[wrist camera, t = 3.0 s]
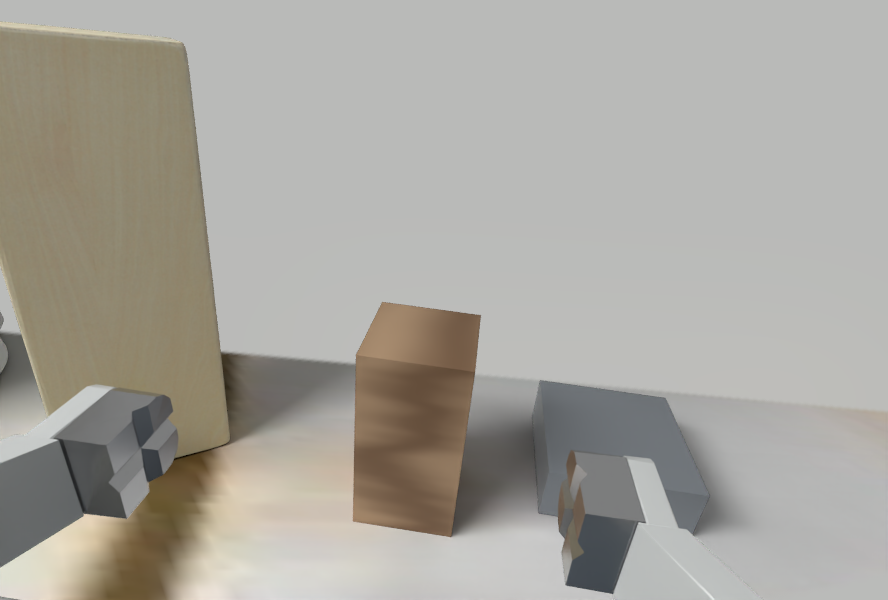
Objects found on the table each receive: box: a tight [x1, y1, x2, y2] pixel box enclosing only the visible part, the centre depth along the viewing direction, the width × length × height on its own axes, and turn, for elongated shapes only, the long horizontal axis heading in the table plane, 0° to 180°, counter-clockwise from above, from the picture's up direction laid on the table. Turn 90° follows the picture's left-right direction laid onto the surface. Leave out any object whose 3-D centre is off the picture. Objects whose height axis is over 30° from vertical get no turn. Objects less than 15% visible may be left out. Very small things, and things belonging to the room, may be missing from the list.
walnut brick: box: [353, 302, 481, 537], centre depth 26 cm, size 5×5×10 cm
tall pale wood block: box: [0, 22, 230, 458], centre depth 26 cm, size 8×7×21 cm
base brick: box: [532, 380, 710, 534], centre depth 30 cm, size 8×8×3 cm
